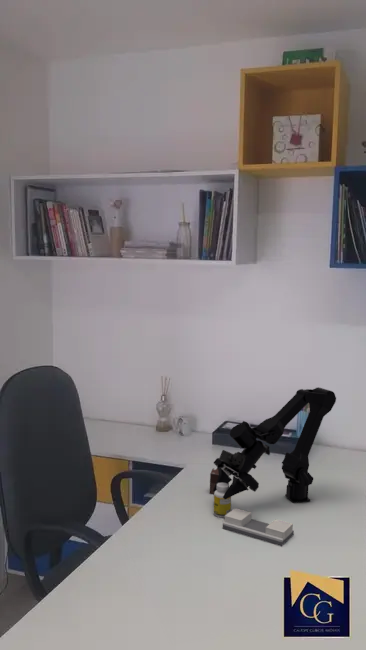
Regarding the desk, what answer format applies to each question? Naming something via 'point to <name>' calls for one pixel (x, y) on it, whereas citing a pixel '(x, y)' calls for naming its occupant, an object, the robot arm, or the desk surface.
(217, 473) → the box
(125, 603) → the desk surface
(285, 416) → the robot arm
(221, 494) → the supplement bottle
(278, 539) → the rail plate
